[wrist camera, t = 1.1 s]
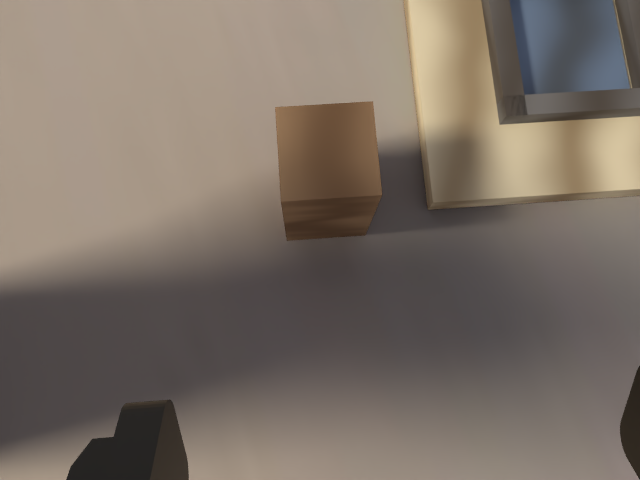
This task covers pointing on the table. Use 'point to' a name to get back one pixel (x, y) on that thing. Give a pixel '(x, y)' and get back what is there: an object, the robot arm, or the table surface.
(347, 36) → the table surface
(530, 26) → the base board
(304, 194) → the walnut block
